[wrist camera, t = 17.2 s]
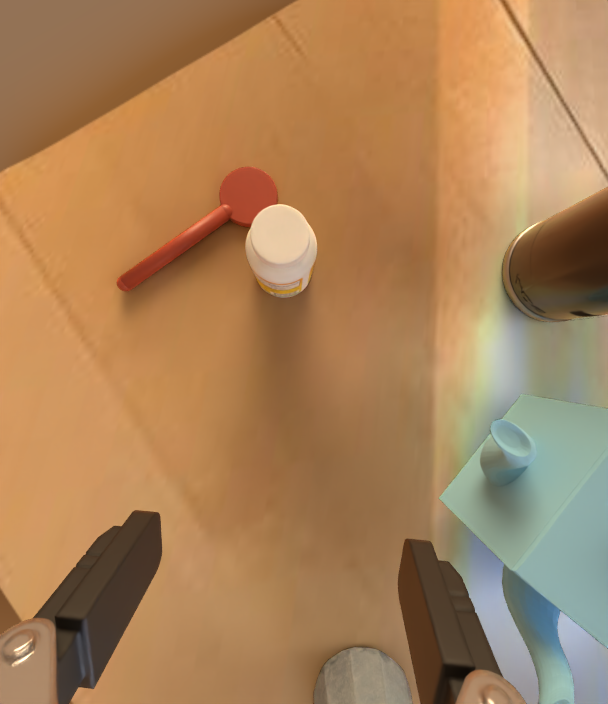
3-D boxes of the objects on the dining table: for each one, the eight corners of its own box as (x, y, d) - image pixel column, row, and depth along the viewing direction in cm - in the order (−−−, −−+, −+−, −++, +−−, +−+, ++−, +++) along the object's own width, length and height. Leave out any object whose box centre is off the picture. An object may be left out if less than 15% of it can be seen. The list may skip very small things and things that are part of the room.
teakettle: (631, 571, 34) (892, 738, 19) (436, 597, 33) (550, 789, 18) (608, 373, 34) (849, 386, 19) (413, 395, 33) (508, 426, 19)
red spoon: (139, 312, 33) (132, 310, 31) (106, 266, 33) (97, 262, 31) (288, 206, 33) (288, 199, 32) (255, 160, 33) (254, 152, 32)
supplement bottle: (283, 310, 33) (279, 292, 23) (242, 269, 33) (221, 234, 23) (324, 269, 33) (336, 235, 24) (283, 228, 33) (279, 177, 24)
